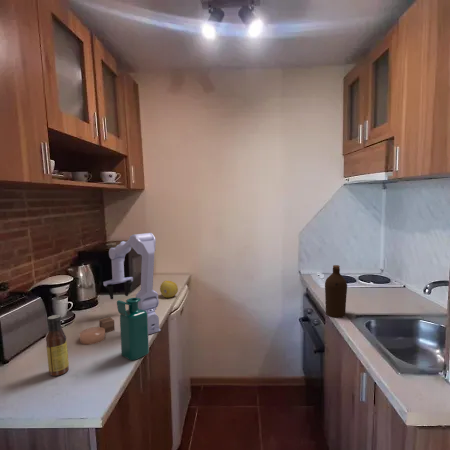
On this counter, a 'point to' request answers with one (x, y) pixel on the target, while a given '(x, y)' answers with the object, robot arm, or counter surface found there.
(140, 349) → the green plastic tall container
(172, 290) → the fruit
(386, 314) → the counter surface
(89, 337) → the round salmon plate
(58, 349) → the sauce bottle
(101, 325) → the walnut cube
